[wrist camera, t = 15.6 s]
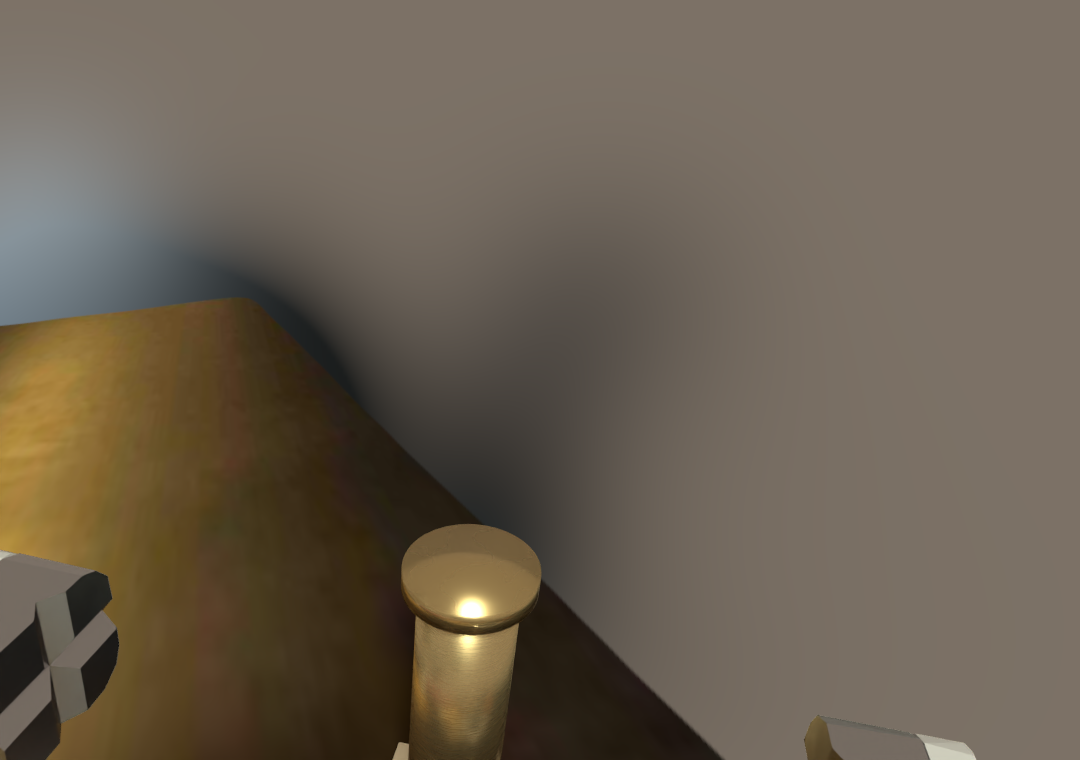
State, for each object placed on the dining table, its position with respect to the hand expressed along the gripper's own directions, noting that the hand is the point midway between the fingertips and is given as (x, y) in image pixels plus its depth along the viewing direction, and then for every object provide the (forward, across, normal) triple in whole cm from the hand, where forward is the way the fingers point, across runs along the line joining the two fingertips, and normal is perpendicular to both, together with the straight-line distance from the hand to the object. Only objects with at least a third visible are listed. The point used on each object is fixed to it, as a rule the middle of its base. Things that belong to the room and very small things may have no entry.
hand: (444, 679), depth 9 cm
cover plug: (+20, -3, -32) cm, 38 cm away
